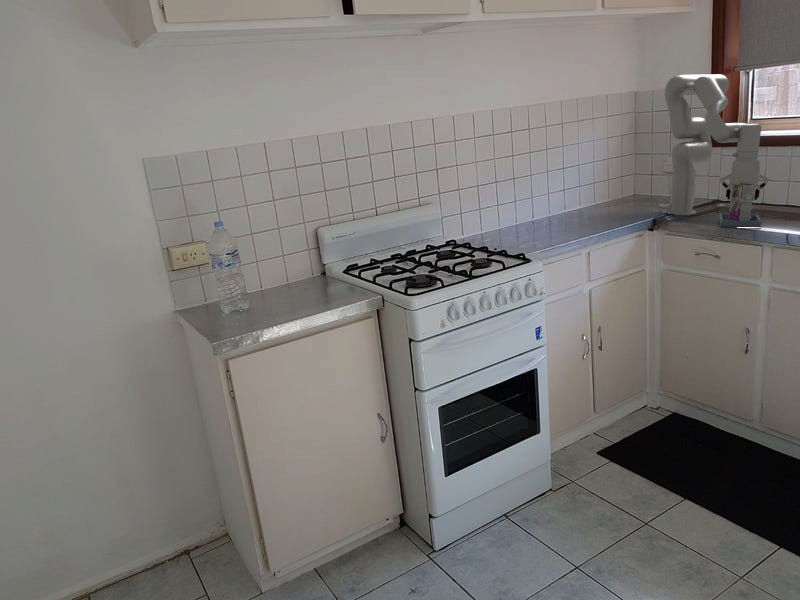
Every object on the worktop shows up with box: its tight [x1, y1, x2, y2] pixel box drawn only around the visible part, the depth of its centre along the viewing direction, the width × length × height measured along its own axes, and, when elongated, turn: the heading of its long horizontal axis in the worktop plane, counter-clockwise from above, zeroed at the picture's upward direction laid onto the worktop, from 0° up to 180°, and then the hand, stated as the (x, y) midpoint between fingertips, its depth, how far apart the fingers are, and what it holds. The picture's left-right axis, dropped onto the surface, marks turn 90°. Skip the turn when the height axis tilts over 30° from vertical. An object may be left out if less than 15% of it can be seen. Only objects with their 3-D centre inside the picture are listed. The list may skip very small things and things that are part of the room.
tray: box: [718, 213, 762, 229], centre depth 260 cm, size 14×16×3 cm
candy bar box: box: [728, 183, 756, 221], centre depth 258 cm, size 11×5×16 cm, turn 174°
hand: (741, 199), depth 257 cm, fingers open, 9 cm apart
